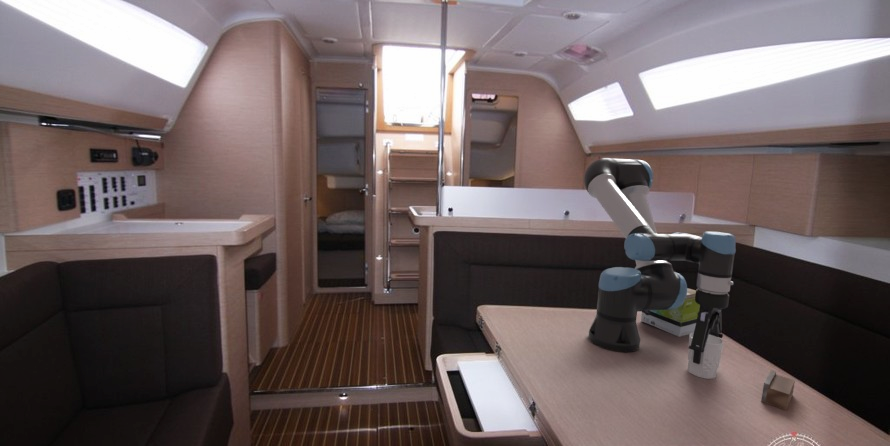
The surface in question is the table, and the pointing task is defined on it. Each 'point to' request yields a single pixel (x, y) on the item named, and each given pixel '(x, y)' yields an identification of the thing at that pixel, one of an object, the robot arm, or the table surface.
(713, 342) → the white cup
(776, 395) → the block
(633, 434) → the table surface
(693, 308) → the tea box
